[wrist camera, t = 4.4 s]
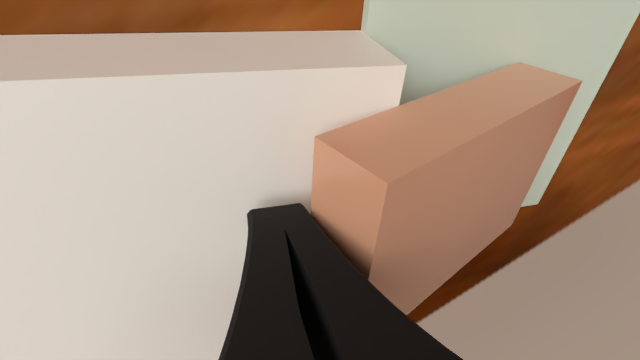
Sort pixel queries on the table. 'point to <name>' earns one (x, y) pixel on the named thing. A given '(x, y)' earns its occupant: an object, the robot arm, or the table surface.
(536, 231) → the table surface
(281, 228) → the robot arm
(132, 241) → the white flat block
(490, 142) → the tile
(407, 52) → the mat
